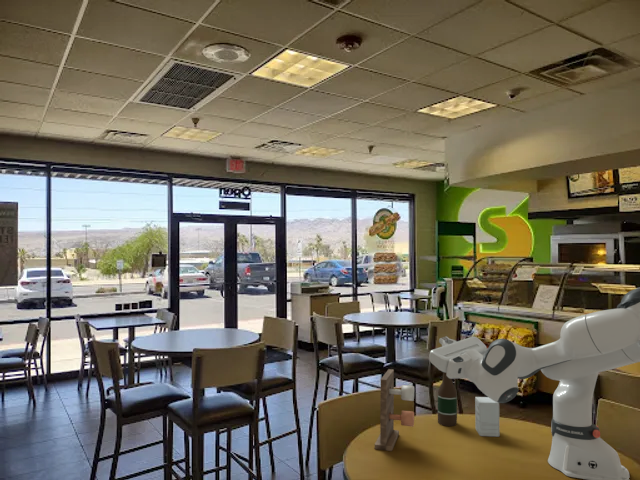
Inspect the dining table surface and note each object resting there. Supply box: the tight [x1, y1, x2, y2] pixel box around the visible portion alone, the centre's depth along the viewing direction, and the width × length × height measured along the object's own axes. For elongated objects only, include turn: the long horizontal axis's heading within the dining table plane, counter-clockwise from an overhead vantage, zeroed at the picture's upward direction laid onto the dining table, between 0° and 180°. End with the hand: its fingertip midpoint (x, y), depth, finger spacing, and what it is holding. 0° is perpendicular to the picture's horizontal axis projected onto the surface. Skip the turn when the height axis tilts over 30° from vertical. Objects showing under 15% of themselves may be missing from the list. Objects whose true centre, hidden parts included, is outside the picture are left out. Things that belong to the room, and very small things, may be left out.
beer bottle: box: [437, 372, 458, 427], centre depth 192 cm, size 8×8×24 cm
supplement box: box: [474, 396, 500, 437], centre depth 182 cm, size 7×7×13 cm
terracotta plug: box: [389, 410, 415, 427], centre depth 172 cm, size 10×5×5 cm, turn 72°
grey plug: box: [389, 384, 415, 402], centre depth 172 cm, size 10×5×5 cm, turn 72°
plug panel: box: [374, 368, 400, 452], centre depth 173 cm, size 6×16×24 cm, turn 162°
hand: (442, 338), depth 164 cm, fingers closed
